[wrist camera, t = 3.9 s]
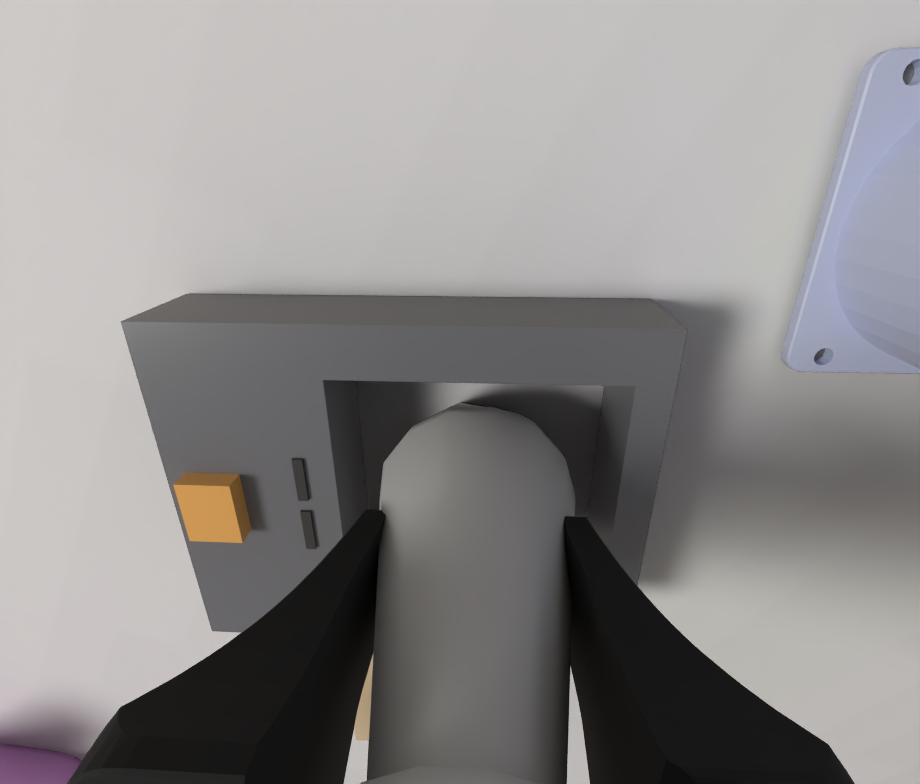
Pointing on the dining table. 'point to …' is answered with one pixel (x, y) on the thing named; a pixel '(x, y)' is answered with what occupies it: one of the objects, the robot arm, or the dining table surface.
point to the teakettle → (35, 766)
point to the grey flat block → (337, 416)
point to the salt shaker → (472, 605)
